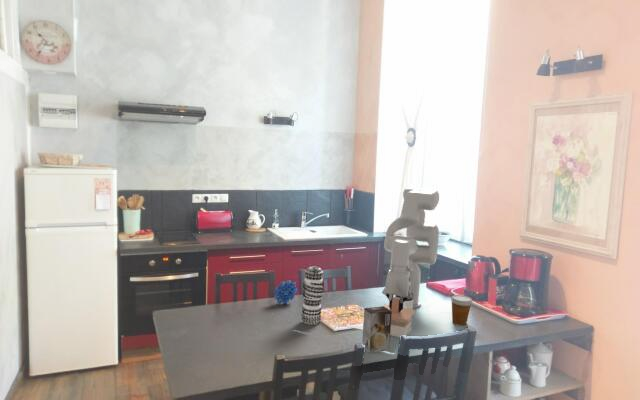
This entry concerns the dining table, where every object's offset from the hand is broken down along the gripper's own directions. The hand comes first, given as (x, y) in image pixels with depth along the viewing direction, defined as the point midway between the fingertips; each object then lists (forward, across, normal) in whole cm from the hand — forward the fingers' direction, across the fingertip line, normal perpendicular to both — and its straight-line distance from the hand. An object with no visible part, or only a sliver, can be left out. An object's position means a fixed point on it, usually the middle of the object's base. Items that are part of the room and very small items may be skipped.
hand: (395, 309), depth 203 cm
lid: (+2, 0, 0) cm, 2 cm away
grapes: (+10, +57, -6) cm, 58 cm away
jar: (+10, +1, -19) cm, 22 cm away
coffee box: (+10, +2, +21) cm, 23 cm away
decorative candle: (+10, +35, +10) cm, 38 cm away
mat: (+10, +16, 0) cm, 19 cm away
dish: (+10, 0, 0) cm, 10 cm away
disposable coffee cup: (+10, -24, -27) cm, 38 cm away
